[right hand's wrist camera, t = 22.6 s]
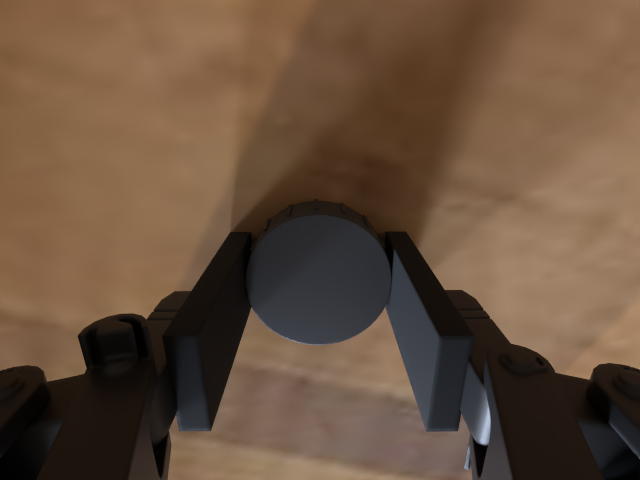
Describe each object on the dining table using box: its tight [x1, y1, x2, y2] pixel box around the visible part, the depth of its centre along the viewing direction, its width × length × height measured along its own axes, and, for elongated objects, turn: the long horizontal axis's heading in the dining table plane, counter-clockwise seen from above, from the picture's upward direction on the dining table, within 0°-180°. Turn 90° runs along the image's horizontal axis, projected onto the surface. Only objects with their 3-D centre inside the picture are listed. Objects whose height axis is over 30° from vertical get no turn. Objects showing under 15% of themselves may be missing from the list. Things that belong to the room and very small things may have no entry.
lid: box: [245, 199, 392, 345], centre depth 14 cm, size 5×5×2 cm
